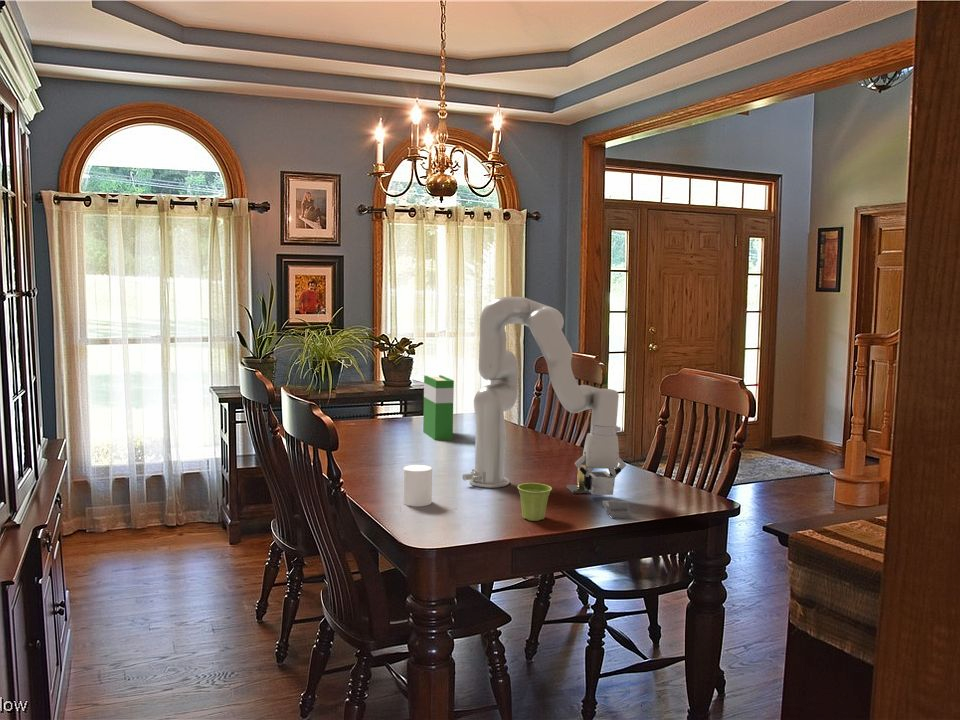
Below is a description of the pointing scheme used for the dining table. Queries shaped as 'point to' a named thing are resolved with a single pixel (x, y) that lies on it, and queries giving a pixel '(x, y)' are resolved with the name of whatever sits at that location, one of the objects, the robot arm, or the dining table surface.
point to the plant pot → (534, 500)
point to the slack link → (605, 504)
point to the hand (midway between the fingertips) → (598, 488)
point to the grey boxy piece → (618, 509)
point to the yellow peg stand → (579, 484)
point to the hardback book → (438, 407)
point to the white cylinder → (417, 485)
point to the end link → (601, 483)
